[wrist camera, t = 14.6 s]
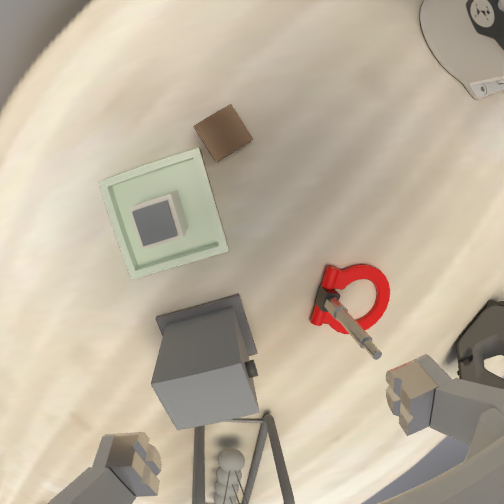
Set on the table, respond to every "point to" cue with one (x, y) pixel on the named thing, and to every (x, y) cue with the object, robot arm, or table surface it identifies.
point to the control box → (206, 364)
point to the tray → (193, 202)
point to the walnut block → (223, 133)
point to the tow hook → (338, 315)
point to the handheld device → (482, 346)
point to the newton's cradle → (238, 467)
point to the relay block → (159, 219)
